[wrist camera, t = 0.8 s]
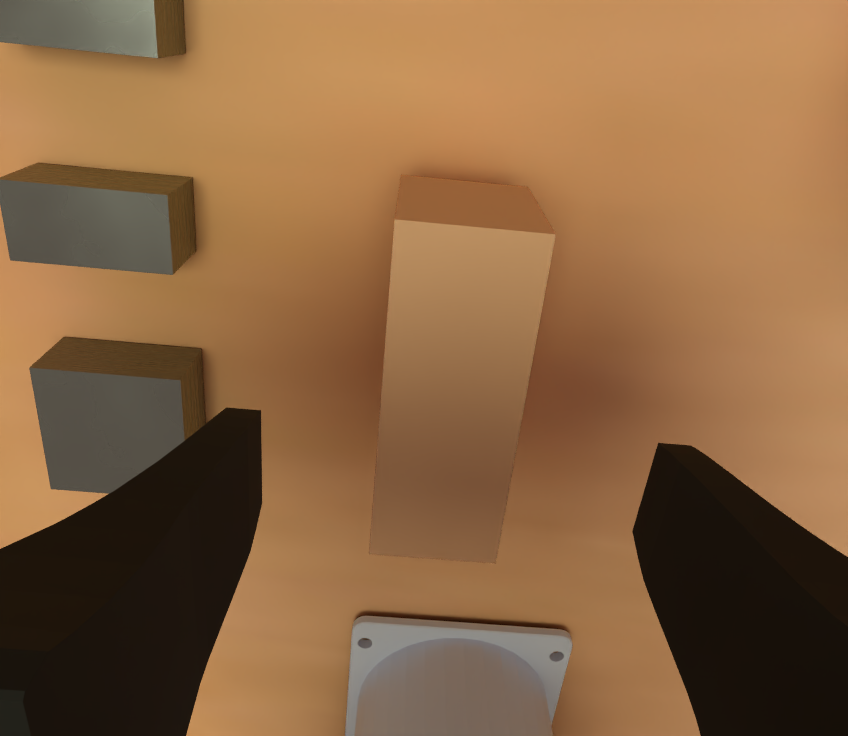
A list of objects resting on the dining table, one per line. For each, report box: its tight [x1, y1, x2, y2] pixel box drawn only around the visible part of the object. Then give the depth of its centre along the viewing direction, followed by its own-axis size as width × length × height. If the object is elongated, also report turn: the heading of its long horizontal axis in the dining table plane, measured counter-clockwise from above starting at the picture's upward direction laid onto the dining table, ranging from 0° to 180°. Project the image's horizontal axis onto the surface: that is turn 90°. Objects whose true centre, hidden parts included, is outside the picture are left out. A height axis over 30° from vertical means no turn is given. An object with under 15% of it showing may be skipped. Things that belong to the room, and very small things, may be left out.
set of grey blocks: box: [0, 0, 205, 494], centre depth 18 cm, size 16×4×2 cm, turn 175°
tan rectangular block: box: [369, 175, 556, 564], centre depth 17 cm, size 8×3×6 cm, turn 175°
